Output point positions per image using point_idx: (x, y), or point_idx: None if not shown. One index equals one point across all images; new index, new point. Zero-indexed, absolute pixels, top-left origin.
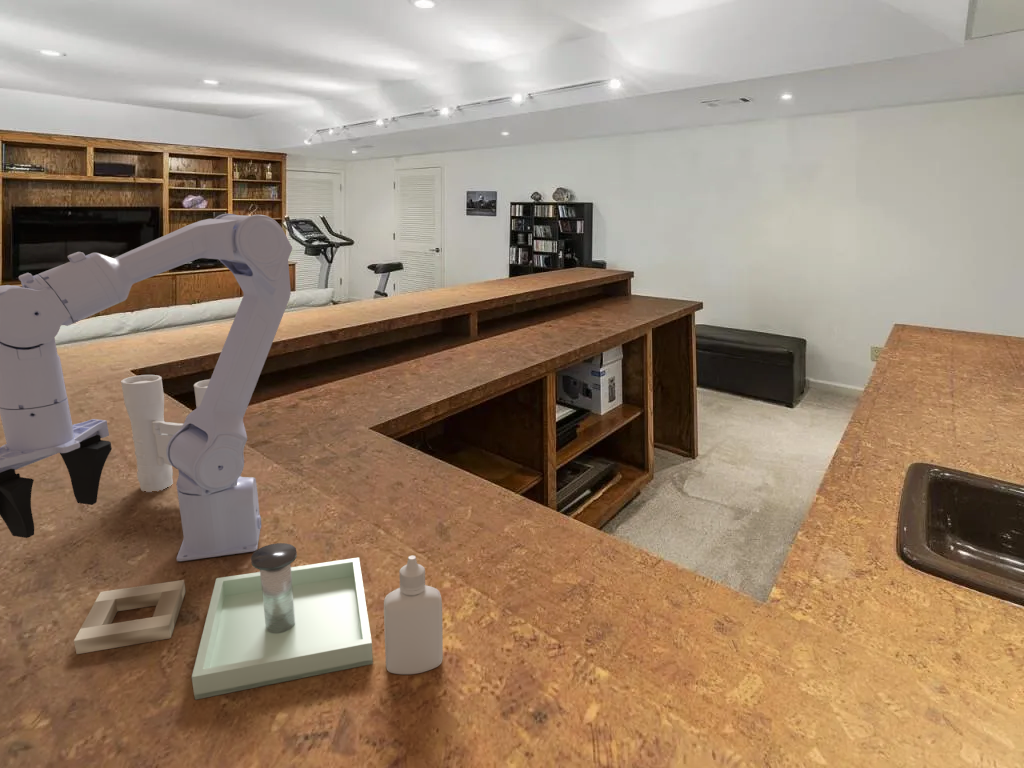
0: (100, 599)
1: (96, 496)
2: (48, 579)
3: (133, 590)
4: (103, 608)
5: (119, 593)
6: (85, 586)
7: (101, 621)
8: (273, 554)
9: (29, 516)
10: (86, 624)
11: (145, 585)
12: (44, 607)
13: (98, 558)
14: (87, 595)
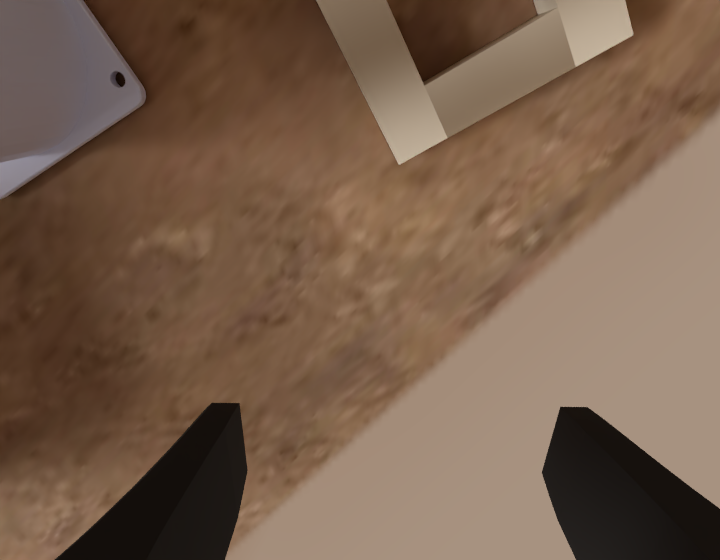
0: (434, 131)
1: (200, 423)
2: (333, 369)
3: (372, 60)
4: (473, 82)
5: (396, 95)
6: (335, 268)
7: (540, 26)
8: None
9: (660, 486)
10: (556, 65)
11: (336, 40)
12: (431, 289)
13: (223, 336)
14: (368, 231)
